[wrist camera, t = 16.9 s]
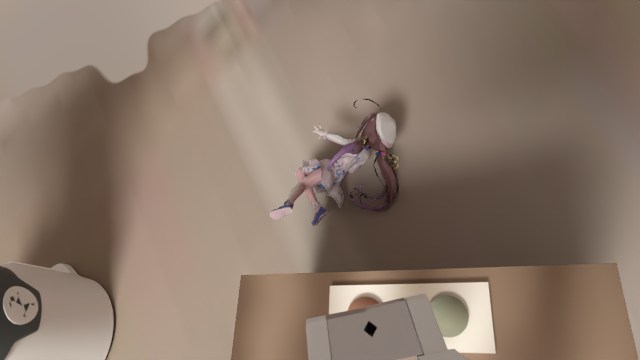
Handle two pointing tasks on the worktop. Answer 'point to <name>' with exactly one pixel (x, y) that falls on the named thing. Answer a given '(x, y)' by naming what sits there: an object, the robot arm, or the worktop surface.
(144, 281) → the worktop surface
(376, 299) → the keypad console
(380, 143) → the figurine
